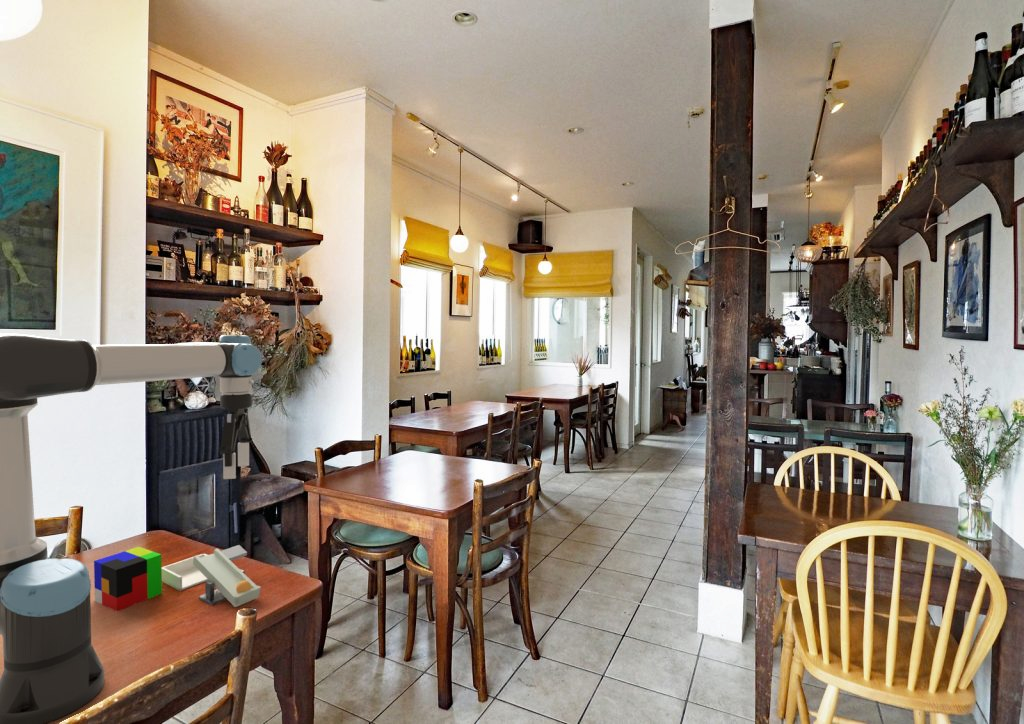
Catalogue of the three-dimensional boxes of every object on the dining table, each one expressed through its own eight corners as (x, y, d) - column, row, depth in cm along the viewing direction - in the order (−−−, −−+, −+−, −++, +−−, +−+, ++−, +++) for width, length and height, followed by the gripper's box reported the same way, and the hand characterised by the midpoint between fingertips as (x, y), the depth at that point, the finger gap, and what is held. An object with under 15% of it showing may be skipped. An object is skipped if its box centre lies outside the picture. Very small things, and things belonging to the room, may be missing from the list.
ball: (238, 599, 126) (242, 590, 125) (232, 590, 128) (235, 580, 127) (251, 594, 129) (255, 584, 128) (244, 585, 131) (248, 575, 130)
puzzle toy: (94, 601, 128) (93, 560, 128) (139, 584, 137) (139, 546, 137) (116, 611, 124) (116, 569, 123) (162, 593, 132) (161, 554, 132)
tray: (179, 591, 134) (179, 577, 133) (160, 580, 139) (160, 567, 139) (223, 574, 143) (223, 561, 143) (204, 565, 148) (204, 553, 148)
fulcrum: (251, 589, 135) (251, 571, 135) (211, 605, 127) (211, 587, 126) (238, 583, 138) (238, 566, 138) (198, 598, 130) (198, 580, 130)
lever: (281, 587, 135) (283, 578, 134) (235, 607, 125) (236, 597, 124) (238, 548, 145) (240, 539, 144) (192, 563, 135) (194, 554, 134)
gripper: (238, 398, 129) (239, 483, 130) (262, 388, 154) (262, 460, 155) (204, 398, 128) (205, 485, 129) (233, 388, 152) (234, 461, 153)
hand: (236, 472), depth 142 cm, fingers open, 13 cm apart
